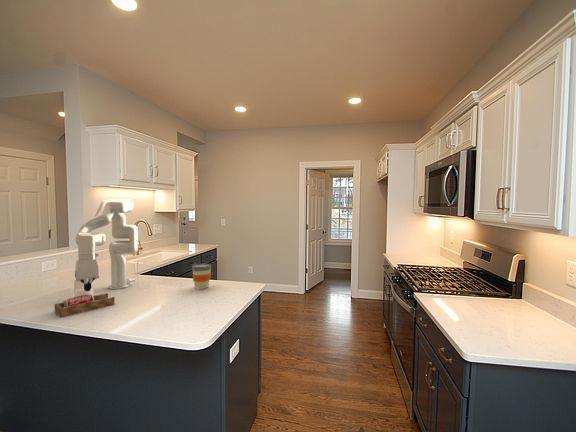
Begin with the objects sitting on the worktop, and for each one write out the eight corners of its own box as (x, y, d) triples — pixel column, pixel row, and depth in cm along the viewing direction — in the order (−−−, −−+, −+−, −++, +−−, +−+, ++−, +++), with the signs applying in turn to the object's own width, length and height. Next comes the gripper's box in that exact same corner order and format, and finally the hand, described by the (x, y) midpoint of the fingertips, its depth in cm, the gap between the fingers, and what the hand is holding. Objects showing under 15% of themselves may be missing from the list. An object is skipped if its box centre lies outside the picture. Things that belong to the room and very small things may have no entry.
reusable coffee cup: (188, 288, 187) (187, 266, 186) (200, 283, 198) (200, 262, 198) (203, 290, 182) (203, 267, 182) (215, 285, 194) (214, 264, 193)
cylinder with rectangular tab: (72, 301, 160) (72, 281, 160) (76, 297, 168) (75, 277, 168) (91, 299, 164) (91, 279, 164) (94, 295, 172) (93, 276, 172)
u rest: (107, 299, 163) (107, 293, 163) (114, 304, 156) (114, 297, 156) (54, 311, 145) (54, 303, 145) (60, 317, 137) (60, 309, 137)
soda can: (96, 301, 150) (68, 308, 140) (92, 308, 153) (65, 315, 144) (92, 290, 153) (65, 296, 143) (89, 297, 156) (62, 304, 146)
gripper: (100, 254, 159) (101, 286, 159) (68, 258, 147) (68, 292, 148) (105, 256, 154) (105, 288, 154) (71, 259, 142) (72, 295, 143)
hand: (87, 290), depth 151 cm, fingers closed
